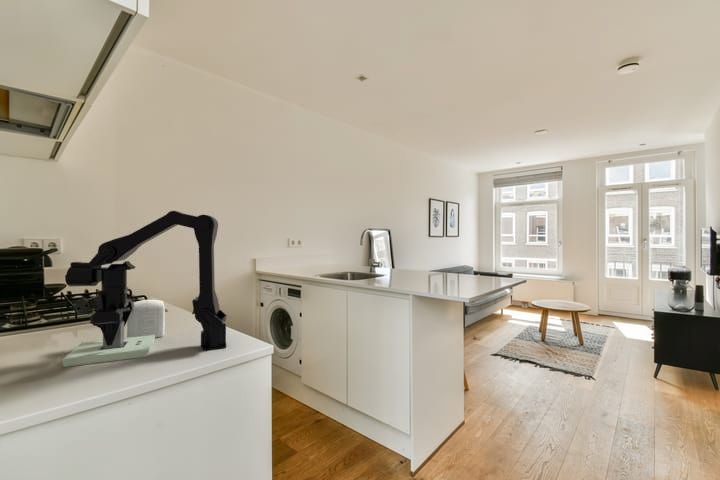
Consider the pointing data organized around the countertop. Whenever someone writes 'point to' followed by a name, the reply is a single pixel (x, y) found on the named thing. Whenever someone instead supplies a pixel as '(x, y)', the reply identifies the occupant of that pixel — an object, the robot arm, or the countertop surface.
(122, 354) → the outlet plate
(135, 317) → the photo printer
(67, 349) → the countertop surface
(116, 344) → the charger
